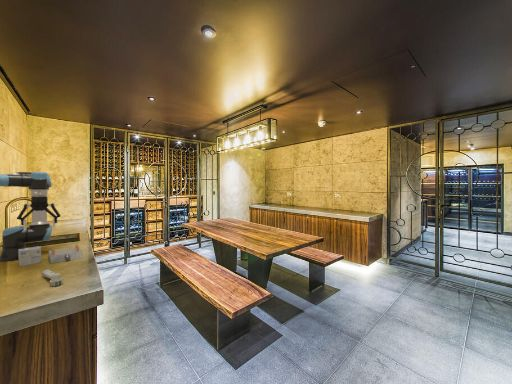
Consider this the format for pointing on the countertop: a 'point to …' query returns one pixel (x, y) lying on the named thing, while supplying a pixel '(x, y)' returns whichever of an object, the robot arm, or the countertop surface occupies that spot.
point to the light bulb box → (29, 256)
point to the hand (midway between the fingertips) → (39, 229)
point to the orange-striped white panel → (65, 254)
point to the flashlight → (53, 277)
